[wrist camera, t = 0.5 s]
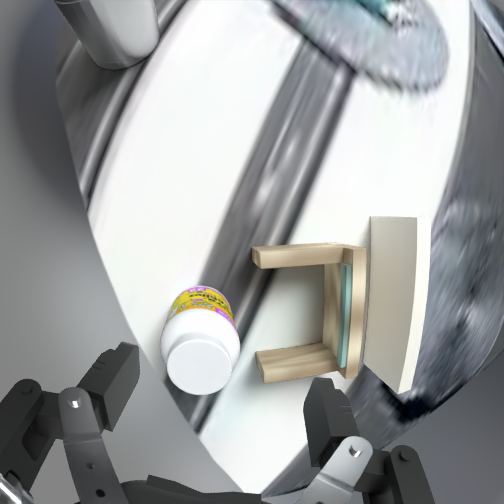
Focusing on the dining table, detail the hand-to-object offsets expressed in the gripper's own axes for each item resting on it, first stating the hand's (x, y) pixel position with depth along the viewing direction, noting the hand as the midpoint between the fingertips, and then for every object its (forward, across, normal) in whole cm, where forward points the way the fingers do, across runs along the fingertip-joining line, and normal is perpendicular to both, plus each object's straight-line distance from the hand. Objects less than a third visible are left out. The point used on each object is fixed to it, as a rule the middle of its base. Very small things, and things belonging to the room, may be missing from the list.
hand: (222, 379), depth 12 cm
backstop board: (+22, -18, +3) cm, 29 cm away
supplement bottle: (+19, +4, +7) cm, 20 cm away
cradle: (+20, -7, +5) cm, 22 cm away
